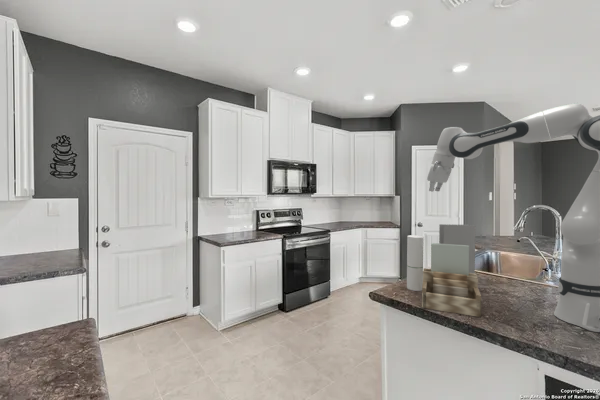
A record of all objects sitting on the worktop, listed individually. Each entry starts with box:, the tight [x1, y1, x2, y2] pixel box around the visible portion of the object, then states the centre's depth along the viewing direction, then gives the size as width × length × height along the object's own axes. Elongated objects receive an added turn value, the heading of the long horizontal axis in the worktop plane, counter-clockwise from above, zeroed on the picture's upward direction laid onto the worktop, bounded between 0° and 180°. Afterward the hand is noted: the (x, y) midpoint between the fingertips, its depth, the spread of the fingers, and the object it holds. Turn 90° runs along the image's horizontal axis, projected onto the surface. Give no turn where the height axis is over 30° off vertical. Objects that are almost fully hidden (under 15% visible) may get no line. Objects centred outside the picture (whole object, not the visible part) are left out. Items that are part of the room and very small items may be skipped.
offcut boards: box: [433, 271, 468, 298], centre depth 113 cm, size 12×6×13 cm, turn 64°
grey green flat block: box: [430, 242, 469, 276], centre depth 119 cm, size 14×2×24 cm, turn 64°
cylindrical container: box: [406, 234, 424, 292], centre depth 134 cm, size 7×7×25 cm
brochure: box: [438, 224, 476, 274], centre depth 136 cm, size 14×6×30 cm, turn 84°
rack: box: [421, 267, 482, 318], centre depth 115 cm, size 20×16×12 cm
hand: (434, 191), depth 133 cm, fingers open, 8 cm apart
